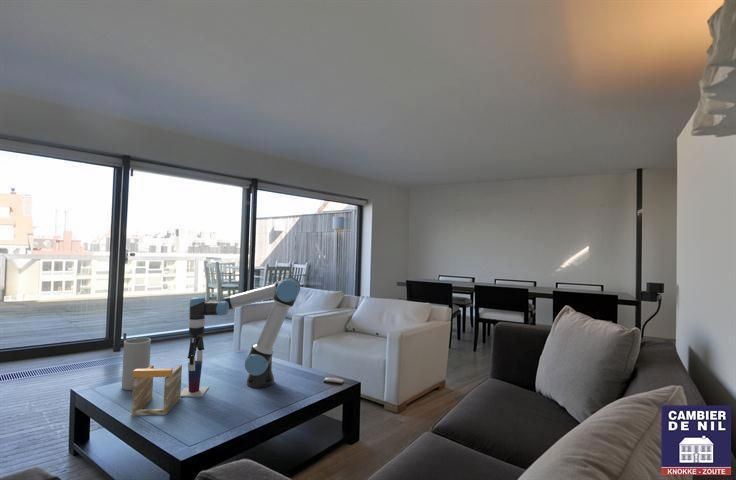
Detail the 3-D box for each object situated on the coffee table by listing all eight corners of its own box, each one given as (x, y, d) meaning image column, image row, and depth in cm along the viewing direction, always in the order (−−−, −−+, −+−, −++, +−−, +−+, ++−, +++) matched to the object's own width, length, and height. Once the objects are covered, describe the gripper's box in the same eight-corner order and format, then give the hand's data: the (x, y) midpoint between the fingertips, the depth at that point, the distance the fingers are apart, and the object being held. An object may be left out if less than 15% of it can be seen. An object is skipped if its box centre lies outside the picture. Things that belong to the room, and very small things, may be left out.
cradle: (180, 397, 194) (181, 365, 194) (166, 414, 175) (168, 378, 176) (148, 398, 192) (150, 365, 192) (131, 415, 173) (133, 378, 173)
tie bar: (172, 374, 179) (172, 368, 179) (170, 376, 176) (170, 370, 176) (135, 375, 177) (136, 368, 177) (132, 377, 174) (133, 370, 174)
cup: (203, 389, 204) (205, 361, 204) (194, 394, 197) (195, 365, 198) (193, 387, 206) (195, 359, 206) (183, 391, 200) (185, 363, 200)
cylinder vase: (116, 388, 203) (118, 341, 203) (138, 380, 215) (140, 336, 215) (132, 392, 198) (134, 344, 199) (153, 384, 210) (156, 339, 210)
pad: (208, 388, 208) (208, 386, 208) (202, 396, 197) (202, 395, 197) (185, 388, 207) (185, 386, 207) (177, 397, 195) (178, 395, 195)
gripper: (196, 321, 214) (195, 359, 214) (181, 331, 189) (180, 374, 189) (210, 321, 215) (209, 359, 215) (197, 331, 190) (196, 374, 190)
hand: (195, 366), depth 202 cm, fingers open, 13 cm apart
